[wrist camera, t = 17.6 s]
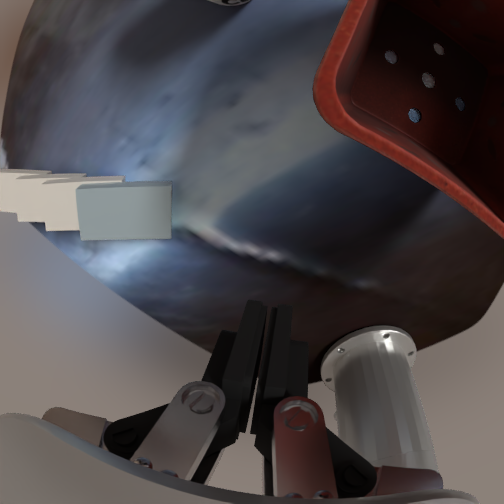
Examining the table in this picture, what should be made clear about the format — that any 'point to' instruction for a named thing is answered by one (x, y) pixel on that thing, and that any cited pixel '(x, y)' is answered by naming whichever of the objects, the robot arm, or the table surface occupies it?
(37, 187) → the domino
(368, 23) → the plant pot
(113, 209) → the domino
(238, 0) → the cup
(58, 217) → the domino
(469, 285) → the table surface
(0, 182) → the domino
